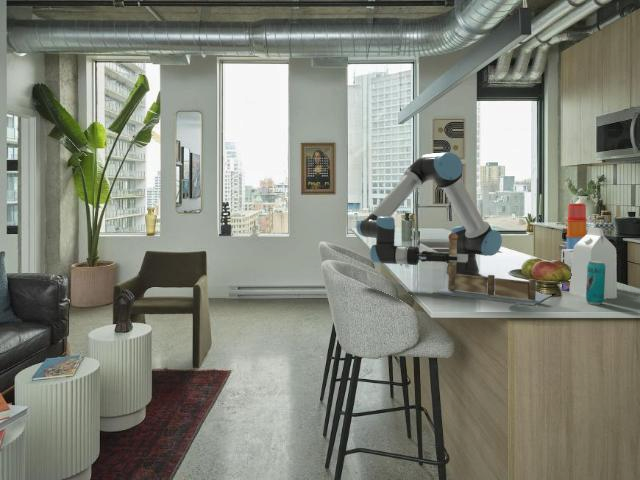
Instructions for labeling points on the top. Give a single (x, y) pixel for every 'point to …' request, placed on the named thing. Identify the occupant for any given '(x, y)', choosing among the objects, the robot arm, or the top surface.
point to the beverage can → (595, 282)
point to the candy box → (567, 259)
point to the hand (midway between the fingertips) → (466, 258)
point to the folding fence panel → (463, 281)
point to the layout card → (494, 296)
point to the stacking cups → (576, 224)
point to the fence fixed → (512, 288)
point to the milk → (593, 250)
